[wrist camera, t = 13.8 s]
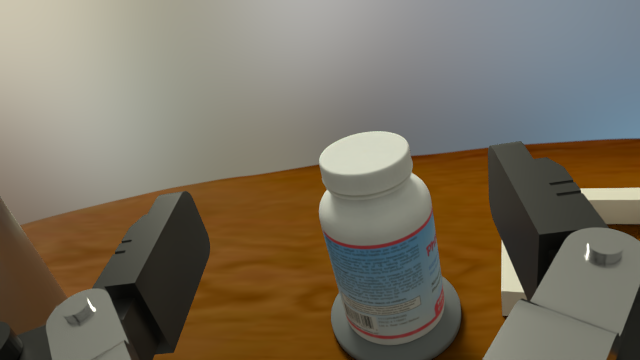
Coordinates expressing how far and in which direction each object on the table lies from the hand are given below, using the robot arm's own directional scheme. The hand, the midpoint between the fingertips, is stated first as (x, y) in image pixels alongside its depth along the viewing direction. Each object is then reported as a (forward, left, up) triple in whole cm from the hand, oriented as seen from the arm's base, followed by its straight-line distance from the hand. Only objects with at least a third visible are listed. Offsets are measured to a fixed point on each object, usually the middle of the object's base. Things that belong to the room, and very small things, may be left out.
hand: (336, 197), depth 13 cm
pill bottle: (-3, +10, -16) cm, 19 cm away
